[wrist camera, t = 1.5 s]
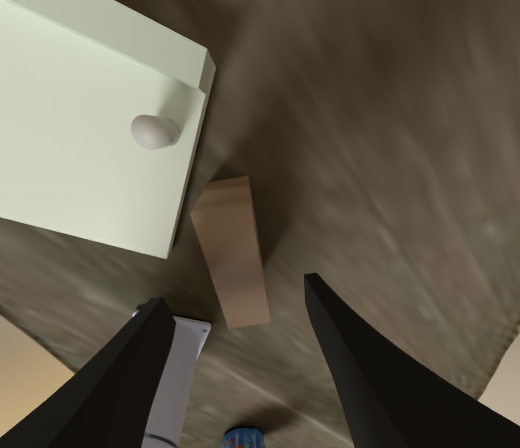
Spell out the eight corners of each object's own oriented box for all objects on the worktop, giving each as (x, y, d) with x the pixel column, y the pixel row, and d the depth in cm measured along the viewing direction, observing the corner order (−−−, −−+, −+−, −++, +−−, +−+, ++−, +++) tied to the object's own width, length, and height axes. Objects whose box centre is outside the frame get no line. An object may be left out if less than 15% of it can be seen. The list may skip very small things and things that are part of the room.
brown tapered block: (263, 266, 19) (270, 322, 13) (231, 271, 19) (226, 329, 13) (248, 175, 15) (250, 203, 9) (207, 181, 15) (186, 213, 9)
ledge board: (171, 250, 17) (153, 280, 14) (-66, 188, 13) (-168, 207, 10) (216, 67, 12) (205, 44, 8) (-166, -124, 8) (-462, -306, 5)
